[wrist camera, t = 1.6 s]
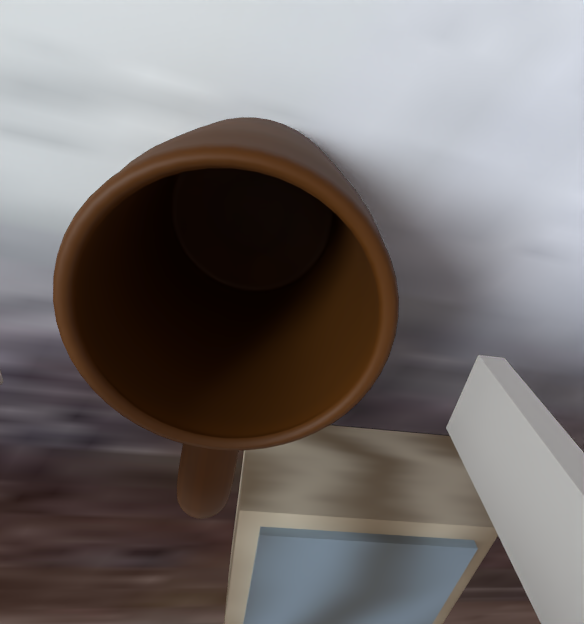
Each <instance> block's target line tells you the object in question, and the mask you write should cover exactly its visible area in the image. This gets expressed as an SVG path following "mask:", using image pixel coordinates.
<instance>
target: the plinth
mask: <svg viewBox="0 0 584 624" xmlns="http://www.w3.org/2000/svg"><path fill="white" fill-rule="evenodd" d="M497 536H498V534H497V532H496V530H495V528H494V526H493V524H492V522H491V520H490V517H489V515H488V513H487V511H486V509H485V507H484V505H483V503H482V501H481V499H480V497H479V495H478V493H477V491H476V489H475V487H474V484H473V482H472V480H471V478H470V476H469V474H468V472H467V470H466V468H465V466H464V464H463V462H462V460H461V458H460V456H459V454H458V451H457V449H456V447H455V445H454V443H453V441H452V439H451V437H450V436H444V435H433V434H422V433H411V432H399V431H388V430H377V429H366V428H355V427H344V426H332V425H329V426H327V427H325V428H323V429H322V430H320V431H318V432H316V433H314V434H312V435H309V436H307V437H304V438H302V439H300V440H297V441H293V442H290V443H287V444H284V445H279V446H274V447H269V448H264V449H255V450H244V455H243V463H242V471H241V479H240V487H239V495H238V502H237V510H236V518H235V526H234V534H233V541H232V550H231V559H230V569H229V579H228V588H227V598H226V608H225V617H224V624H443V622H444V621H445V619H446V617H447V616H448V614H449V613H450V611H451V609H452V608H453V606H454V605H455V603H456V601H457V600H458V598H459V597H460V595H461V594H462V592H463V590H464V589H465V587H466V586H467V584H468V582H469V581H470V579H471V578H472V576H473V574H474V573H475V571H476V570H477V568H478V567H479V565H480V563H481V562H482V560H483V559H484V557H485V555H486V554H487V552H488V551H489V549H490V547H491V546H492V544H493V543H494V541H495V540H496V538H497Z"/></svg>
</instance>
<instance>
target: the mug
mask: <svg viewBox="0 0 584 624" xmlns="http://www.w3.org/2000/svg"><path fill="white" fill-rule="evenodd" d="M53 303H54V309H55V316H56V322H57V325H58V328H59V332H60V335H61V338H62V341H63V343H64V346H65V348H66V350H67V352H68V354H69V356H70V358H71V360H72V362H73V363H74V365H75V366H76V368H77V370H78V371H79V373H80V374H81V376H82V377H83V378H84V379H85V381H86V382H87V383H88V384H89V386H90V387H91V388H92V389H93V390H94V391H95V392H96V393H97V394H98V395H99V396H100V397H101V398H102V399H103V400H104V401H105V402H106V403H107V404H108V405H110V406H111V407H112V408H113V409H115V410H116V411H117V412H119V413H120V414H121V415H122V416H124V417H126V418H127V419H129V420H130V421H132V422H134V423H135V424H137V425H138V426H140V427H142V428H144V429H146V430H148V431H151V432H153V433H155V434H157V435H160V436H162V437H165V438H167V439H170V440H173V441H176V442H180V443H183V447H182V453H181V459H180V465H179V472H178V480H177V500H178V502H179V505H180V507H181V509H182V510H183V511H184V512H185V513H187V514H188V515H189V516H192V517H195V518H198V519H202V518H210V517H212V516H214V515H216V514H218V513H219V512H220V511H221V510H222V509H223V508H224V506H225V505H226V503H227V501H228V498H229V495H230V492H231V488H232V484H233V479H234V474H235V469H236V463H237V457H238V452H239V450H255V449H264V448H269V447H274V446H279V445H284V444H287V443H290V442H293V441H297V440H300V439H302V438H304V437H307V436H309V435H312V434H314V433H316V432H318V431H320V430H322V429H323V428H325V427H327V426H329V425H331V424H332V423H334V422H335V421H336V420H338V419H339V418H341V417H342V416H343V415H345V414H346V413H347V412H348V411H350V410H351V409H352V408H353V407H354V406H355V405H356V404H357V403H358V402H359V401H360V400H361V399H362V398H363V397H364V396H365V394H366V393H367V392H368V391H369V390H370V389H371V387H372V386H373V384H374V383H375V381H376V380H377V378H378V377H379V375H380V374H381V372H382V369H383V367H384V365H385V363H386V361H387V359H388V357H389V354H390V351H391V348H392V345H393V342H394V339H395V335H396V329H397V323H398V312H399V296H398V288H397V281H396V276H395V272H394V269H393V266H392V262H391V259H390V256H389V254H388V251H387V249H386V247H385V245H384V243H383V240H382V238H381V236H380V233H379V231H378V229H377V227H376V224H375V222H374V220H373V218H372V216H371V214H370V212H369V210H368V209H367V207H366V206H365V204H364V203H363V201H362V199H361V198H360V196H359V195H358V193H357V192H356V190H355V189H354V188H353V187H352V185H351V184H350V183H349V182H348V181H347V179H346V178H345V177H344V176H343V174H342V173H341V172H340V171H339V170H338V169H337V167H336V166H335V165H334V164H333V163H332V162H331V160H330V159H329V158H328V157H327V156H326V155H325V154H324V153H323V152H322V151H321V149H320V148H319V147H317V146H316V145H315V144H314V143H313V142H312V141H311V140H309V139H308V138H307V137H305V136H304V135H302V134H301V133H299V132H298V131H296V130H294V129H292V128H290V127H288V126H286V125H284V124H281V123H278V122H275V121H271V120H267V119H261V118H242V117H241V118H234V119H227V120H223V121H219V122H216V123H212V124H210V125H207V126H204V127H200V128H197V129H195V130H192V131H190V132H187V133H185V134H182V135H180V136H177V137H175V138H173V139H170V140H168V141H166V142H164V143H162V144H159V145H157V146H155V147H153V148H151V149H150V150H148V151H146V152H145V153H143V154H142V155H140V156H139V157H137V158H136V159H134V160H133V161H131V162H130V163H129V164H128V165H127V166H125V167H124V168H123V169H122V170H121V171H120V172H119V173H117V174H116V175H114V176H112V177H111V178H110V179H109V180H108V181H106V182H105V183H104V184H103V185H102V186H101V187H100V188H99V189H98V190H97V191H95V192H94V193H93V194H92V195H91V196H90V197H89V198H88V199H87V201H86V202H85V203H84V204H83V206H82V207H81V208H80V209H79V211H78V212H77V213H76V215H75V216H74V218H73V220H72V222H71V223H70V225H69V227H68V229H67V231H66V233H65V234H64V237H63V240H62V243H61V246H60V249H59V251H58V254H57V259H56V265H55V271H54V280H53Z"/></svg>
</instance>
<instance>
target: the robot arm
mask: <svg viewBox="0 0 584 624" xmlns="http://www.w3.org/2000/svg"><path fill="white" fill-rule="evenodd" d="M2 383H3V379H2V374H1V370H0V385H1V384H2ZM446 429H447V431H448V433H449V435H450V437H451V439H452V441H453V443H454V445H455V447H456V449H457V451H458V454H459V456H460V458H461V460H462V462H463V464H464V466H465V468H466V470H467V472H468V474H469V476H470V478H471V480H472V482H473V484H474V487H475V489H476V491H477V493H478V495H479V497H480V499H481V501H482V503H483V505H484V507H485V509H486V511H487V513H488V515H489V517H490V520H491V522H492V524H493V526H494V528H495V530H496V532H497V534H498V536H499V538H500V540H501V542H502V544H503V546H504V548H505V550H506V553H507V555H508V557H509V559H510V561H511V563H512V565H513V567H514V569H515V571H516V573H517V575H518V577H519V579H520V581H521V583H522V586H523V588H524V590H525V592H526V594H527V596H528V598H529V600H530V602H531V604H532V606H533V608H534V610H535V612H536V614H537V617H538V619H539V621H540V623H541V624H584V452H583V451H582V450H581V449H580V448H579V446H578V445H577V444H576V443H575V442H574V440H573V439H572V438H571V437H570V436H569V434H568V433H567V432H566V431H565V430H564V429H563V427H562V426H561V425H560V424H559V423H558V421H557V420H556V419H555V418H554V417H553V415H552V414H551V413H550V412H549V411H548V409H547V408H546V407H545V406H544V405H543V403H542V402H541V401H540V400H539V399H538V397H537V396H536V395H535V394H534V393H533V392H532V390H531V389H530V388H529V387H528V386H527V384H526V383H525V382H524V381H523V380H522V378H521V377H520V376H519V375H518V374H517V372H516V371H515V370H514V369H513V368H512V366H511V365H510V364H509V363H508V362H507V361H506V359H505V358H500V357H492V356H484V355H478V357H477V359H476V361H475V364H474V366H473V368H472V370H471V373H470V375H469V377H468V379H467V382H466V384H465V386H464V388H463V391H462V393H461V395H460V397H459V400H458V402H457V404H456V407H455V409H454V411H453V413H452V416H451V418H450V420H449V422H448V425H447V427H446Z"/></svg>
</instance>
